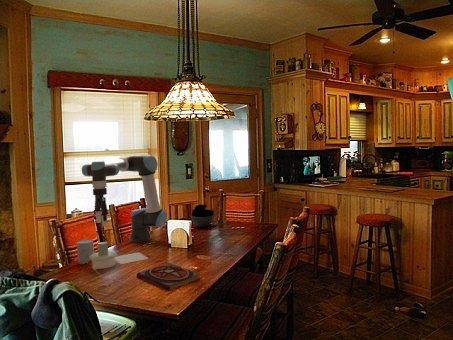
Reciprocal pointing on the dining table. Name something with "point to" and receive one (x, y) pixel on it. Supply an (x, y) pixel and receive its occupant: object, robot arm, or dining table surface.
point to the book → (168, 276)
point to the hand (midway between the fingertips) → (101, 224)
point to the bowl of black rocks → (202, 216)
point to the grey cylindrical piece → (84, 251)
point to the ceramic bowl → (103, 263)
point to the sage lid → (103, 253)
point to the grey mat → (130, 258)
